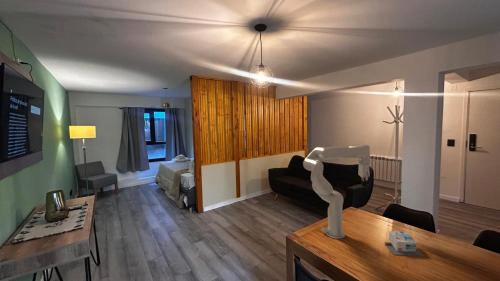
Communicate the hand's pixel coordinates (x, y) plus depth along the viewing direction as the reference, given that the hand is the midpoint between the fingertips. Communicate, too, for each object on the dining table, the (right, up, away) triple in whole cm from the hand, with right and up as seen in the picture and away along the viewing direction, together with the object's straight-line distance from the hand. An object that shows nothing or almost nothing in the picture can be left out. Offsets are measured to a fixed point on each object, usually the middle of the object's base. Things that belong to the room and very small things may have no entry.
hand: (364, 185), depth 159 cm
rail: (+10, -33, -23) cm, 42 cm away
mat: (+9, -34, -29) cm, 45 cm away
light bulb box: (+10, -28, -21) cm, 36 cm away
